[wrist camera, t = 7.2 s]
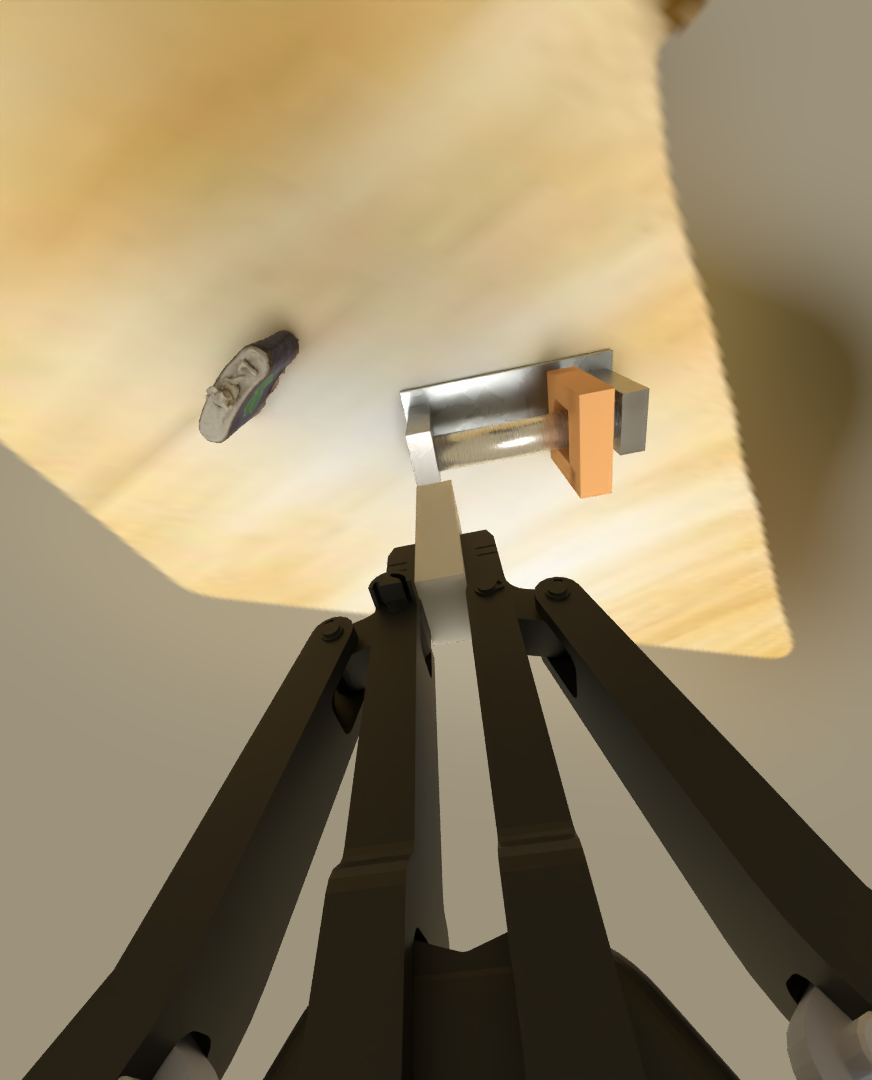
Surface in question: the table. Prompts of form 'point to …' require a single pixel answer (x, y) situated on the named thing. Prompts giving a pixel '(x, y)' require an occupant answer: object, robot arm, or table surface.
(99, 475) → the table surface
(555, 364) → the pipe rail
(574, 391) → the orange square ring
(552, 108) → the table surface
